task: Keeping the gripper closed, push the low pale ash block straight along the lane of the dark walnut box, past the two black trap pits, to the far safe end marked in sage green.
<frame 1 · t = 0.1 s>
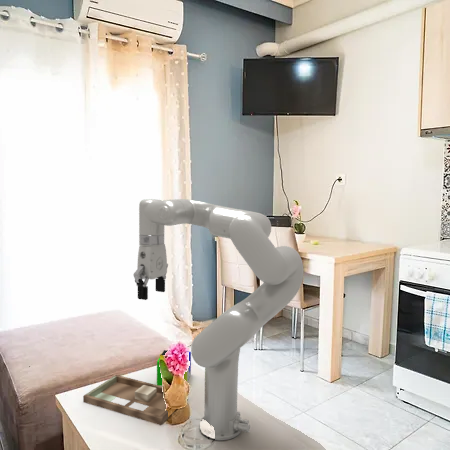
hand: (151, 295, 124), 37 cm above the table, tool pointing down, fingers open, 9 cm apart
puzzle toy: (174, 384, 144), on the table
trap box: (136, 404, 130), on the table
block: (145, 397, 132), point 1 cm above the table, touching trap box
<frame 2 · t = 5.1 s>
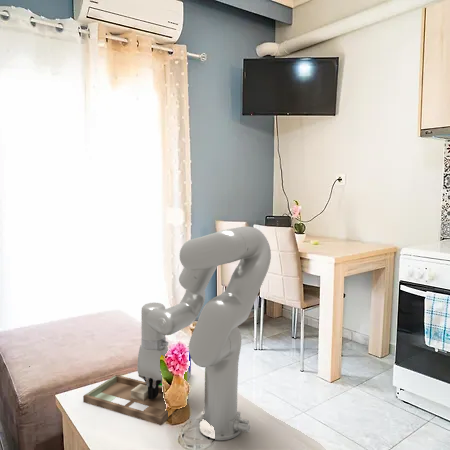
hand: (153, 397, 130), 2 cm above the table, tool pointing down, fingers closed
block: (141, 396, 132), point 2 cm above the table
everything else where it was.
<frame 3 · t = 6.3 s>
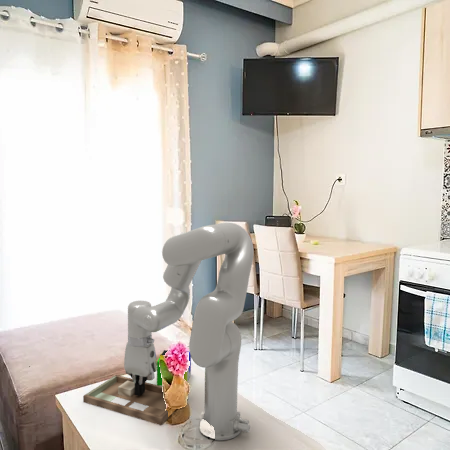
hand: (139, 393, 133), 2 cm above the table, tool pointing down, fingers closed
block: (129, 392, 134), point 2 cm above the table, touching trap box
everything else where it was.
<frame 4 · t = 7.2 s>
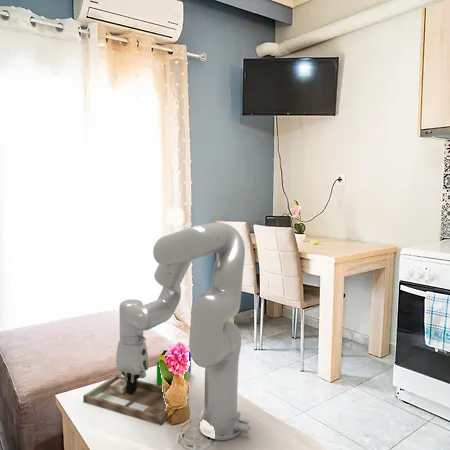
hand: (131, 391, 134), 2 cm above the table, tool pointing down, fingers closed
block: (121, 390, 136), point 2 cm above the table, touching gripper
everything else where it was.
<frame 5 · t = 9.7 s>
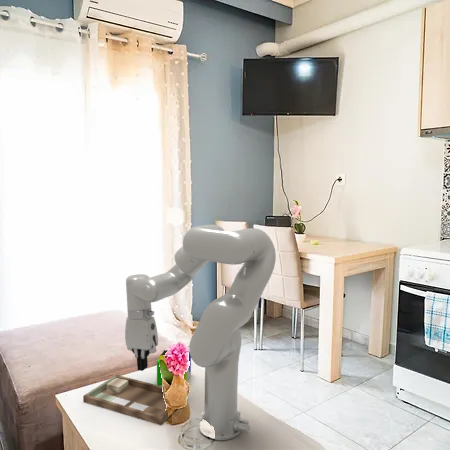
hand: (142, 368, 131), 11 cm above the table, tool pointing down, fingers closed
block: (117, 389, 136), point 1 cm above the table, touching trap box
everything else where it was.
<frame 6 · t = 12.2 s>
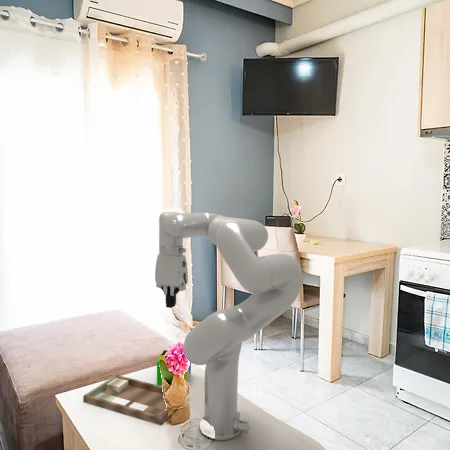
hand: (170, 306, 131), 31 cm above the table, tool pointing down, fingers closed
nothing on the table moved.
at the end: block inside the target area on the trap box (0.3 cm from its centre), point 1.5 cm above the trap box's base; block tilted 0° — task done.
